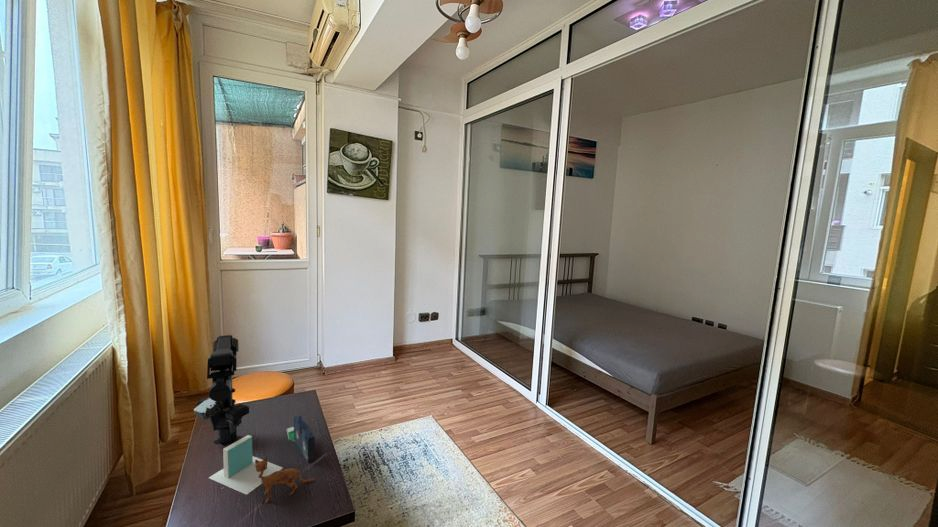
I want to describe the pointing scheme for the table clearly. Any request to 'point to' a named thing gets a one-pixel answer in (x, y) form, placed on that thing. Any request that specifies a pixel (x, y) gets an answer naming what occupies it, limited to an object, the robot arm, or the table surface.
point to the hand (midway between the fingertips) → (223, 430)
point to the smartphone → (290, 433)
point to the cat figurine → (278, 477)
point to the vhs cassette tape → (304, 438)
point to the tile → (237, 456)
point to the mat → (245, 477)
